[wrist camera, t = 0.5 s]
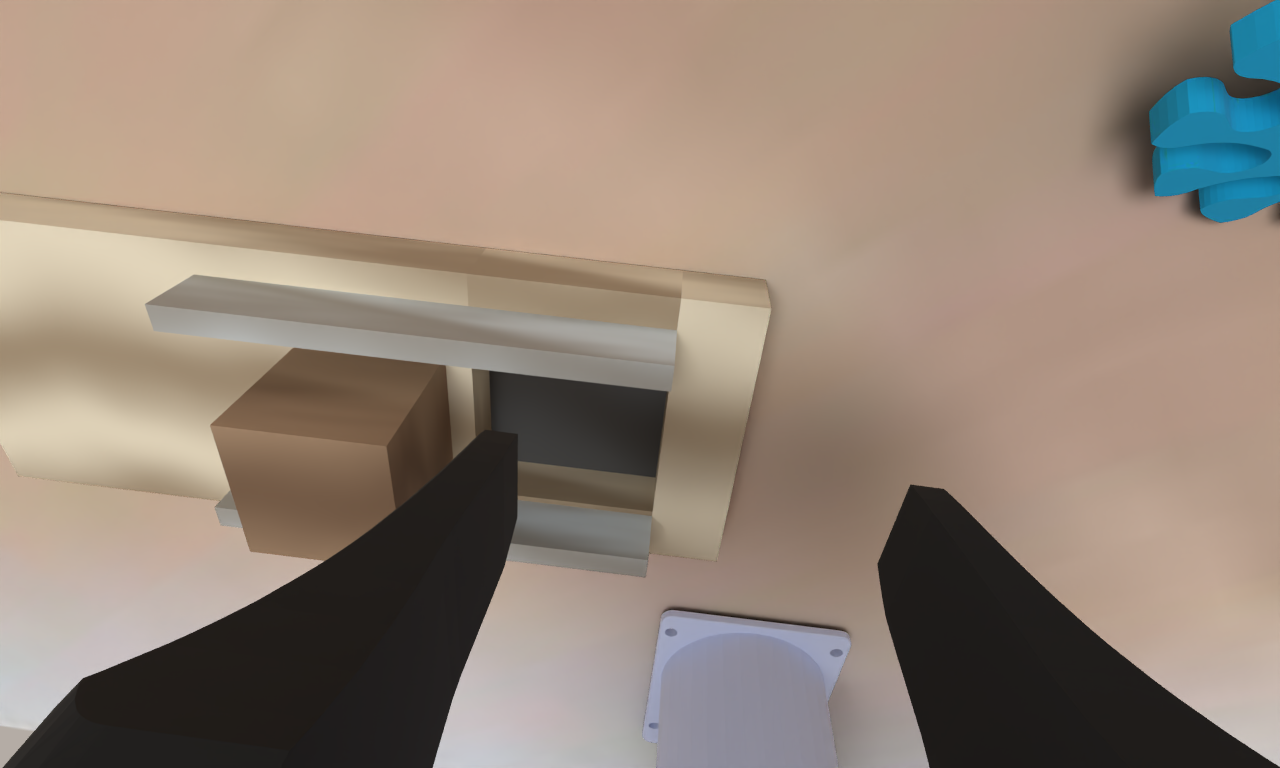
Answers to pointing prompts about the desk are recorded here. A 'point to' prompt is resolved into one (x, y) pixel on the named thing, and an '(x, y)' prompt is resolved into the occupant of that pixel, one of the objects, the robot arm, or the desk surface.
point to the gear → (1224, 129)
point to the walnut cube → (331, 447)
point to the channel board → (386, 328)
